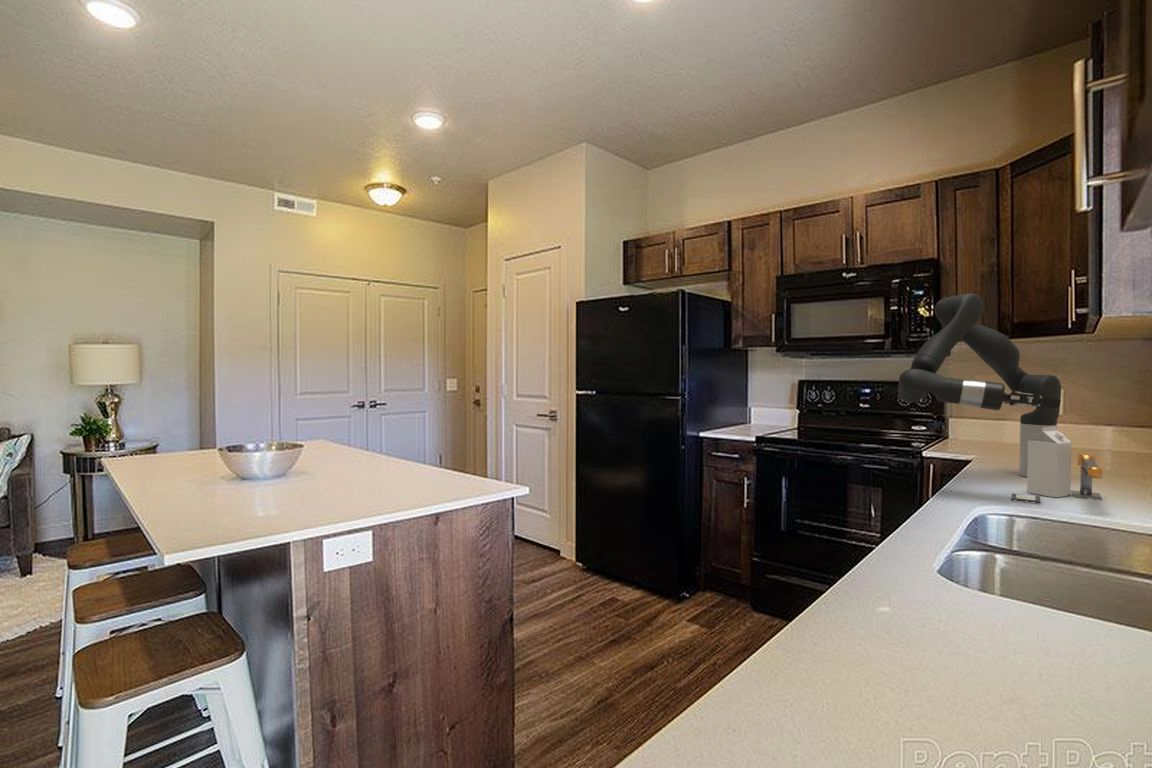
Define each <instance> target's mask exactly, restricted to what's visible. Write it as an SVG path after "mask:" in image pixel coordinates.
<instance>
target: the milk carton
mask: <svg viewBox="0 0 1152 768" xmlns="http://www.w3.org/2000/svg"><path fill="white" fill-rule="evenodd" d="M1071 471H1072V441H1071V440H1070V439H1069V438H1067V437H1066V436H1065V435H1064V434H1063V433H1062V432H1061V431H1058V425H1057V426H1055V427H1043V428H1042V432H1041V433H1039V434H1037V435H1036V436H1034V437H1033V438H1031V439H1030V440H1028V467H1027V477H1026V478H1027V479H1026V493H1027V492H1028V493H1027V494H1032V495H1037V496H1044V497H1045V496H1046V497H1051V498H1056V497H1057V498H1061V497H1067V496H1068V495H1069V496H1071V484H1072V483H1071V481H1072V480H1071V479H1072V478H1071V477H1072V475H1071V473H1072V472H1071Z"/></svg>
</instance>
